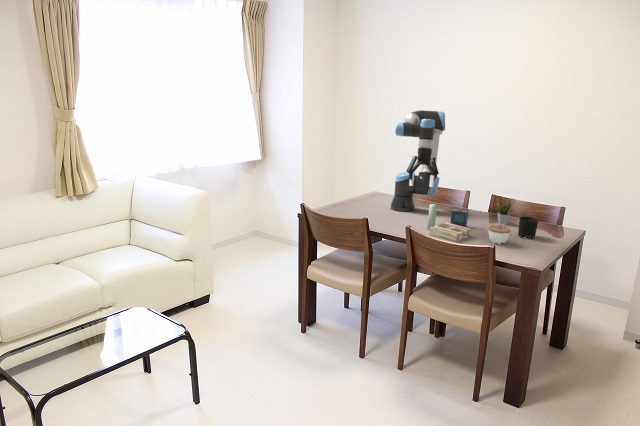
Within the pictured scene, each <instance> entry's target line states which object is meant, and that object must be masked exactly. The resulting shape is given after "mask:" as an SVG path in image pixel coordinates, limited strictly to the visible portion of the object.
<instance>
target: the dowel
mask: <svg viewBox="0 0 640 426" xmlns="http://www.w3.org/2000/svg"><path fill="white" fill-rule="evenodd" d="M428 208H429V209H428V216H427V217H428V218H427V228H426V229H427V230H428V231H429V230H430V227H433V226H436V222H437V221H436V219H437V209H438V204H436V203H431V204H430V203H429V207H428Z"/></svg>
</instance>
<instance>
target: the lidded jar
mask: <svg viewBox="0 0 640 426" xmlns="http://www.w3.org/2000/svg"><path fill="white" fill-rule="evenodd" d="M511 232H512V231H511V228H509V227H507V226H505V225H501V224H498V225H490V226H489V227H488V237H489V240H490V241H491V243H492V242H493V244H495V243H500V244H499V245H502V244H501V243H504V244H505V243H506V242H507V241H508V240H509V238H510V235H511Z"/></svg>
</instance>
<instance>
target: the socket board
mask: <svg viewBox="0 0 640 426" xmlns="http://www.w3.org/2000/svg"><path fill="white" fill-rule="evenodd" d="M450 223H451V222H450ZM450 223H449V222H446V221H444V222H442V223H438V224H437V225H436V224H435V226H433V227H430V230H428V231H429V234H428V235H429V236H431V237H432V236H433V237H437V238H439V239H442V238H443V240H447V241H449V242H454V243H457V242H460V241H461V240H464V239H467V238H469V237H471V236H472V235H471V234H472V228H469V227H462V226H458V225H454V224H450Z"/></svg>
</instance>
